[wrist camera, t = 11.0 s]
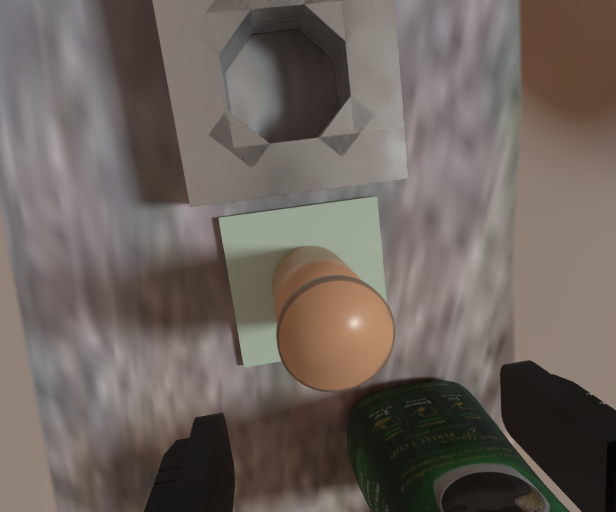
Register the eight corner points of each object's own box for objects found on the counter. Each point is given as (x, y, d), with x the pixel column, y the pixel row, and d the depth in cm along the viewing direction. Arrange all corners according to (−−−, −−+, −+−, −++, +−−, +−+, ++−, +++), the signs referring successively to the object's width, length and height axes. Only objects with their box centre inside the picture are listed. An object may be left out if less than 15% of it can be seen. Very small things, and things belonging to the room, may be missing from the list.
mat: (219, 217, 25) (218, 217, 25) (375, 196, 26) (376, 196, 26) (244, 364, 27) (243, 367, 27) (388, 340, 28) (390, 343, 28)
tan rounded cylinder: (264, 251, 26) (267, 289, 17) (345, 238, 26) (388, 268, 17) (277, 328, 27) (286, 402, 18) (354, 314, 27) (400, 379, 18)
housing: (161, -12, 23) (143, -45, 19) (371, -30, 24) (389, -65, 20) (200, 203, 25) (190, 207, 22) (389, 178, 26) (407, 178, 23)
